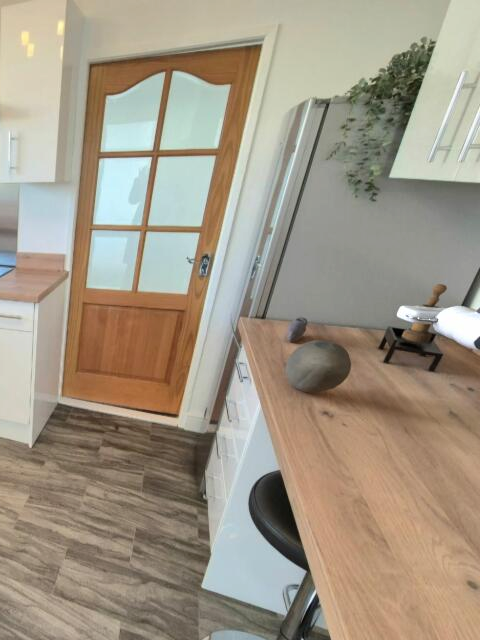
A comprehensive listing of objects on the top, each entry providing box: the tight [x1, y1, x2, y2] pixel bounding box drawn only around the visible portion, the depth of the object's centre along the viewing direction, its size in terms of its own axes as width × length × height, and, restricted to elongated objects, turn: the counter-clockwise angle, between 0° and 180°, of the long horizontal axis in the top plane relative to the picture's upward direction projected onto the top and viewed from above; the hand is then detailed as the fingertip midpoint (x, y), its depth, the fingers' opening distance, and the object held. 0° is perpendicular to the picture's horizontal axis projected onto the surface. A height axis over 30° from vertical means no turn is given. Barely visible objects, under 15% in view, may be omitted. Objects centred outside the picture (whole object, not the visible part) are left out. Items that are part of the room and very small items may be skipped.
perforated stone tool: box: [286, 316, 308, 343], centre depth 158 cm, size 15×5×7 cm, turn 135°
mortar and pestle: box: [402, 283, 448, 343], centre depth 135 cm, size 7×6×18 cm
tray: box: [378, 326, 444, 373], centre depth 141 cm, size 12×16×8 cm
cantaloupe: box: [285, 339, 352, 394], centre depth 118 cm, size 14×14×15 cm
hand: (427, 308), depth 136 cm, fingers closed on mortar and pestle, 4 cm apart
